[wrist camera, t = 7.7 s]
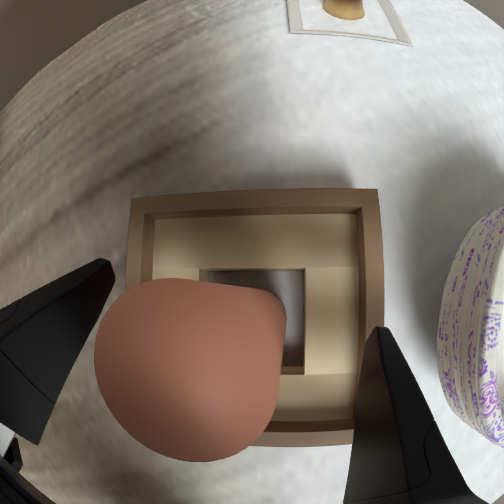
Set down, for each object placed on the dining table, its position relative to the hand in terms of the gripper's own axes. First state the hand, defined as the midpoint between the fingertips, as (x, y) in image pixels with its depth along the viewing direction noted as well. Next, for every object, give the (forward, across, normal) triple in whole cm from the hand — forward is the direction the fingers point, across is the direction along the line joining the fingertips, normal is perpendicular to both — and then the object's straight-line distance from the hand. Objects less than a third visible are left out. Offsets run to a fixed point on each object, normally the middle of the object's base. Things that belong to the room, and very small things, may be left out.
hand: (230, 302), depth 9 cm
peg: (+6, 0, +8) cm, 9 cm away
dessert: (+28, -2, -14) cm, 31 cm away
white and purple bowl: (+8, -18, +5) cm, 20 cm away
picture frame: (+6, 0, +7) cm, 9 cm away
